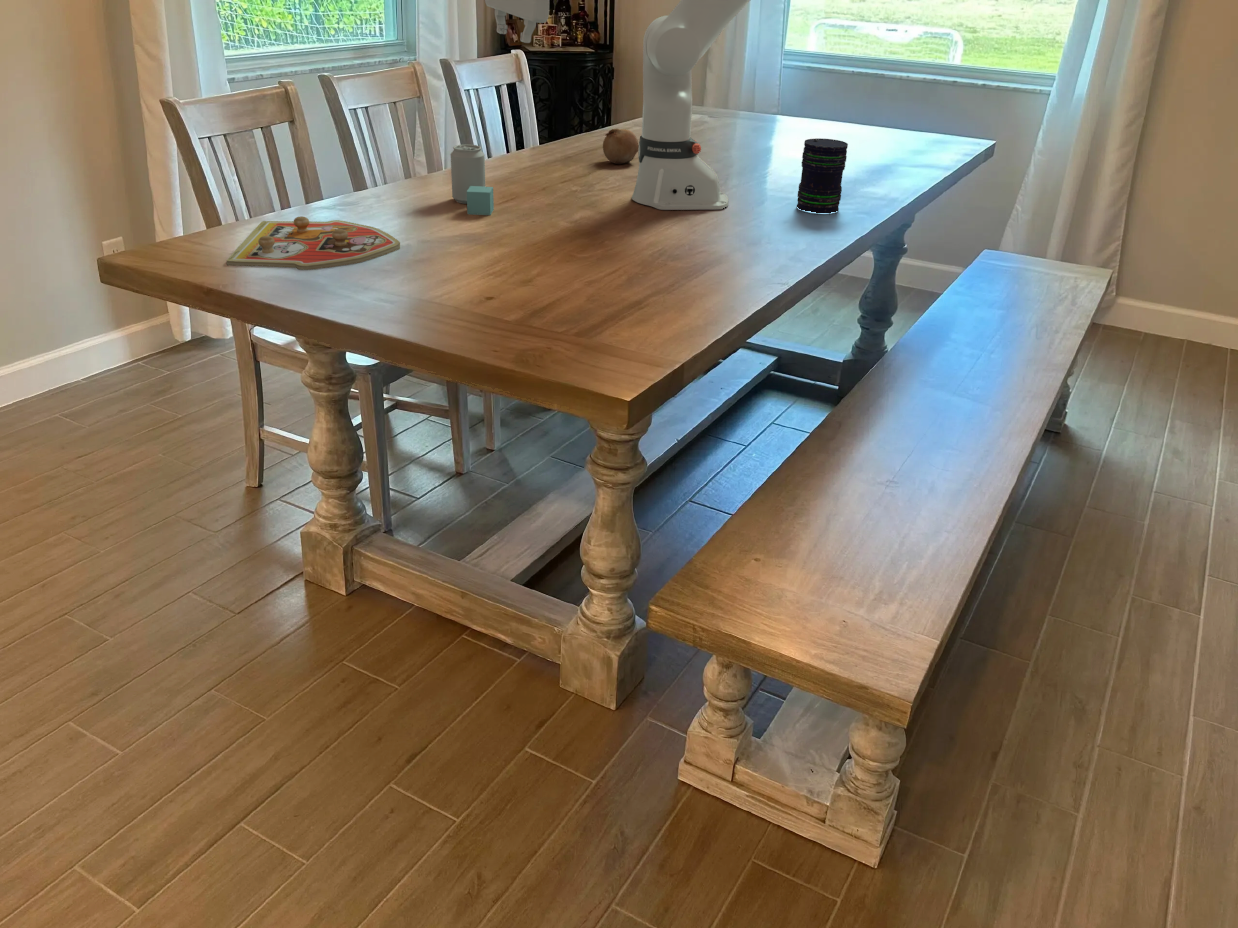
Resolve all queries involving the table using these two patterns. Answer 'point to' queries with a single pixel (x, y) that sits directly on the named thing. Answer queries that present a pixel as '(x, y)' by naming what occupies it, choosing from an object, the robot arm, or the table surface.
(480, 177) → the can
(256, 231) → the knob puzzle
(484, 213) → the teal block
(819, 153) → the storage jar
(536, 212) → the table surface
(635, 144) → the onion
